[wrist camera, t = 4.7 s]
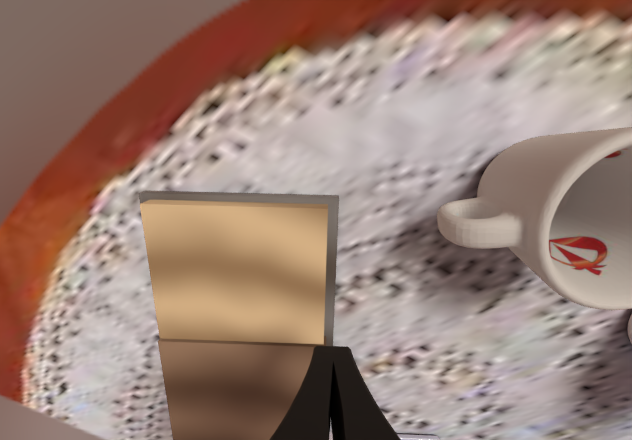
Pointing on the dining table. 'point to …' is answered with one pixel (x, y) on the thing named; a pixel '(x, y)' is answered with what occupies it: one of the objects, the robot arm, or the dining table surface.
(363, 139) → the dining table surface
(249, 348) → the floor board
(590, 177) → the cup
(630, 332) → the supplement bottle
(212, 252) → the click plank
